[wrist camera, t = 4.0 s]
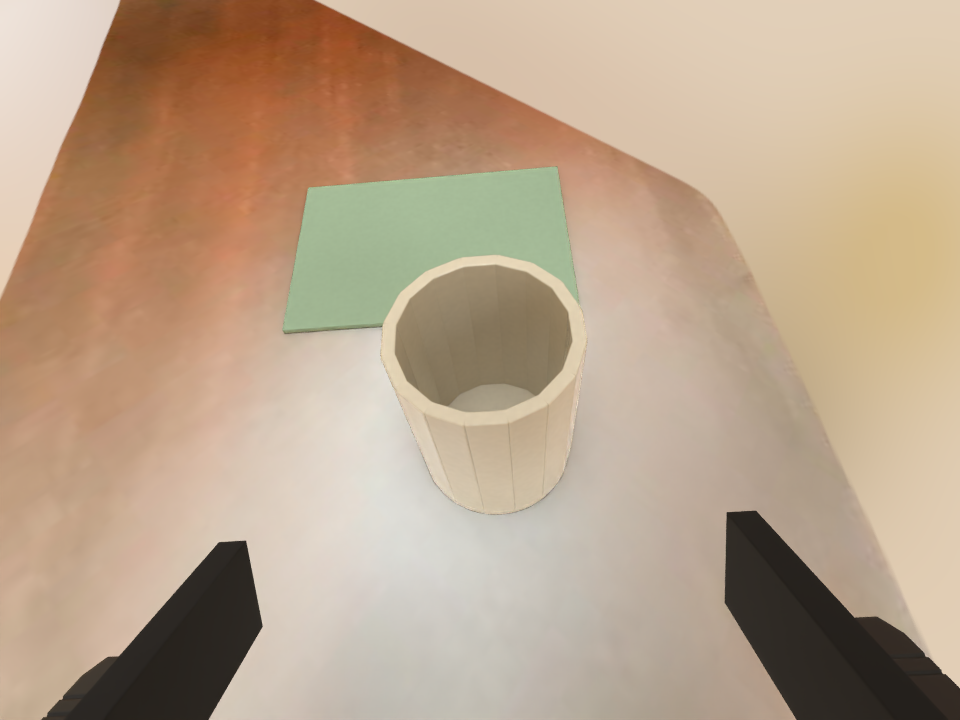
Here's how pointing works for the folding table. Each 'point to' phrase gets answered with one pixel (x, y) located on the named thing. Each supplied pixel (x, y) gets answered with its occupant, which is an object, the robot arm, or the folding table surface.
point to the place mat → (417, 239)
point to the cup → (488, 377)
